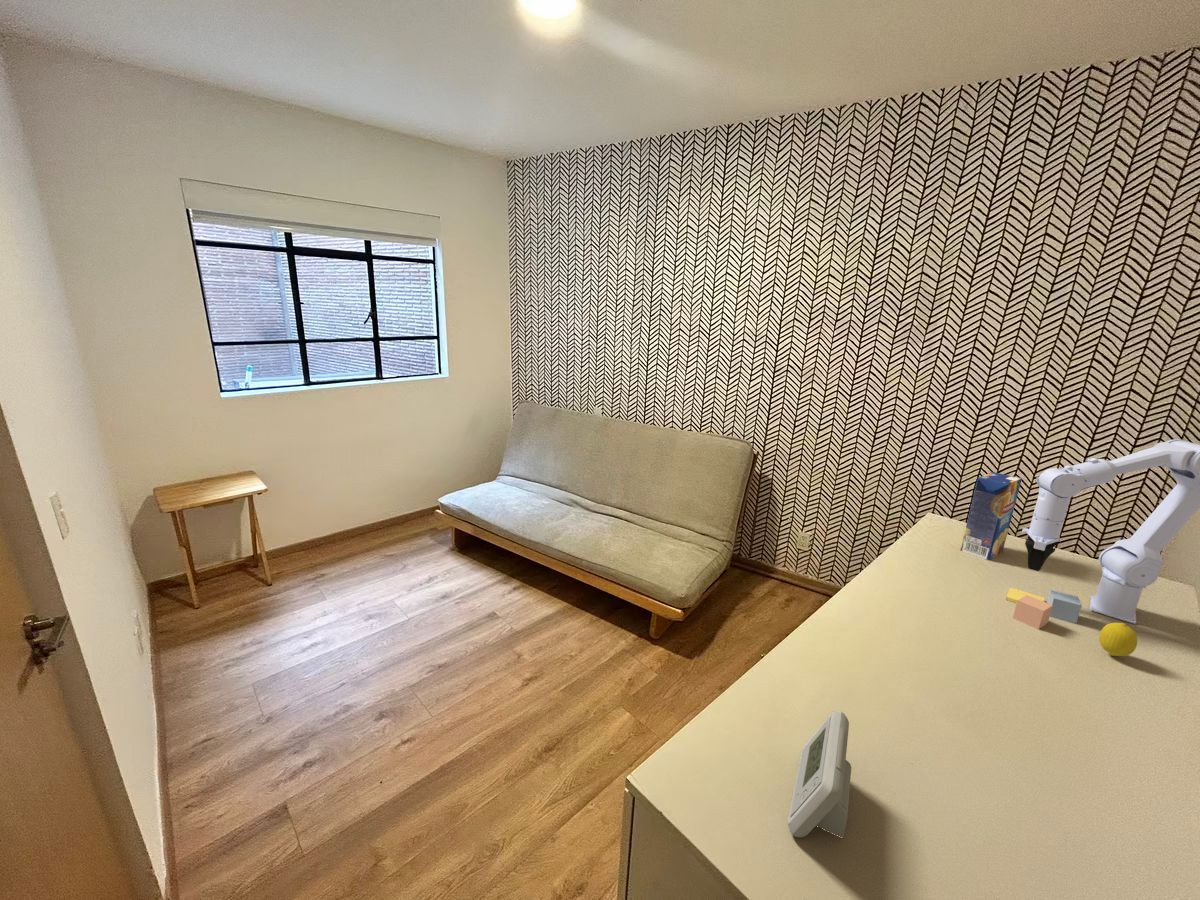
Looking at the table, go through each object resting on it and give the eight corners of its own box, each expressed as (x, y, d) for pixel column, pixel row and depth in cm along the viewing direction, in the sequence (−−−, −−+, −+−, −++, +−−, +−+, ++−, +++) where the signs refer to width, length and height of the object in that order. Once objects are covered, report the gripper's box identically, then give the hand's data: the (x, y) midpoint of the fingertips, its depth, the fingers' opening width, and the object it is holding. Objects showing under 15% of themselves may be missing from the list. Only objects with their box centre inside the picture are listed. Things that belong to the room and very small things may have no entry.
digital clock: (805, 748, 81) (814, 694, 79) (865, 782, 76) (877, 725, 73) (764, 821, 69) (773, 760, 67) (832, 867, 64) (845, 803, 61)
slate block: (1045, 607, 125) (1050, 589, 124) (1072, 614, 122) (1077, 596, 121) (1048, 616, 121) (1053, 598, 120) (1075, 623, 118) (1081, 605, 117)
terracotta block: (1021, 612, 122) (1027, 595, 121) (1047, 623, 118) (1052, 605, 117) (1012, 618, 120) (1017, 600, 118) (1038, 629, 115) (1043, 610, 114)
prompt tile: (1009, 589, 132) (1010, 587, 132) (1043, 600, 128) (1044, 597, 127) (1005, 599, 128) (1006, 596, 127) (1041, 611, 123) (1042, 608, 123)
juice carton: (988, 560, 149) (1008, 485, 142) (960, 550, 154) (977, 477, 148) (1002, 550, 155) (1022, 478, 149) (975, 541, 161) (992, 471, 155)
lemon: (1138, 666, 104) (1150, 633, 102) (1107, 662, 105) (1118, 629, 103) (1117, 649, 109) (1128, 617, 107) (1087, 645, 110) (1098, 614, 108)
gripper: (1030, 505, 129) (1017, 552, 133) (1023, 520, 119) (1010, 570, 123) (1066, 513, 124) (1052, 562, 128) (1063, 529, 115) (1047, 581, 118)
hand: (1034, 567), depth 125 cm, fingers open, 3 cm apart
